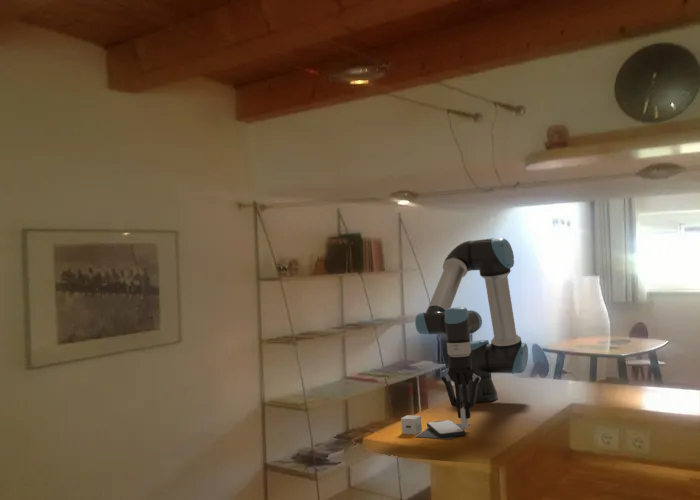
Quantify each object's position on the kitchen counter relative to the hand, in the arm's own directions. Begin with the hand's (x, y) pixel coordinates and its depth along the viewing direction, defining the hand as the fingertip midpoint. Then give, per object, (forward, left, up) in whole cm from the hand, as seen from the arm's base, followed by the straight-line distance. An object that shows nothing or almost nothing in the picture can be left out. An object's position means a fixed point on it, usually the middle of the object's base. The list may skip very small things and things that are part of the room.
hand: (465, 428), depth 205 cm
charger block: (+4, -17, -1) cm, 18 cm away
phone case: (+1, -6, -1) cm, 7 cm away
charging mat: (0, -8, -1) cm, 8 cm away
